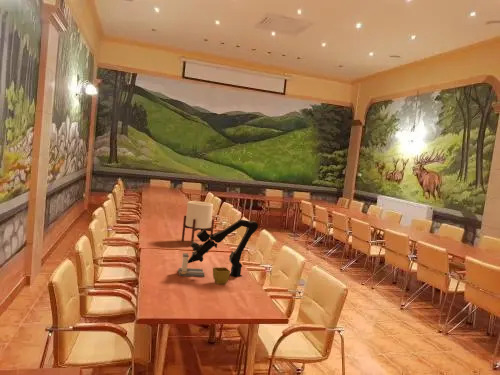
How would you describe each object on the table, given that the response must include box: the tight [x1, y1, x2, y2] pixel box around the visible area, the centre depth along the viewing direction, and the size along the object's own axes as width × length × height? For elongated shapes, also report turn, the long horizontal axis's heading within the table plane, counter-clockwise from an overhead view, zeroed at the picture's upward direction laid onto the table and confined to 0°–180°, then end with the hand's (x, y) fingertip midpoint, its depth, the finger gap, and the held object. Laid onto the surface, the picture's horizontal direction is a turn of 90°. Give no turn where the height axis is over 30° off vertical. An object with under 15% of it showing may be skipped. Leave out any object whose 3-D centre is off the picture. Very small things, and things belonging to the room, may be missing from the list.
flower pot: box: [212, 266, 231, 285], centre depth 264 cm, size 9×9×9 cm
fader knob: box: [181, 252, 190, 271], centre depth 277 cm, size 3×6×11 cm, turn 14°
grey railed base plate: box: [177, 267, 205, 278], centre depth 278 cm, size 16×12×2 cm
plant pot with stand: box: [181, 200, 215, 244], centre depth 375 cm, size 22×22×36 cm
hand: (187, 262), depth 277 cm, fingers closed, pressing on fader knob
